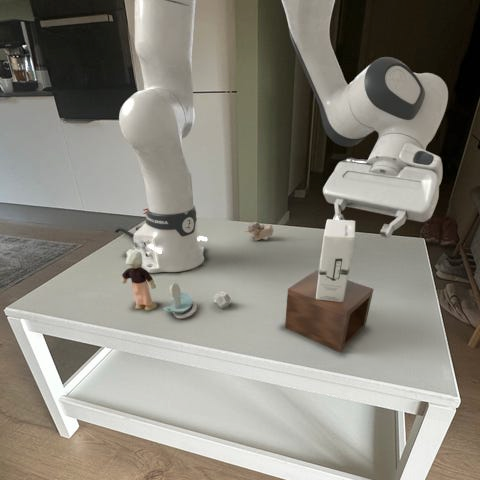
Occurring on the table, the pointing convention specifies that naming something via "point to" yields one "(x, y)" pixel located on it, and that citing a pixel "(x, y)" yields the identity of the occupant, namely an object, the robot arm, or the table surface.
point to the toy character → (260, 231)
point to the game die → (222, 300)
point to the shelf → (327, 313)
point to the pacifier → (180, 302)
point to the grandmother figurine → (139, 281)
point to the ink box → (335, 259)
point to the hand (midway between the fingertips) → (359, 229)
